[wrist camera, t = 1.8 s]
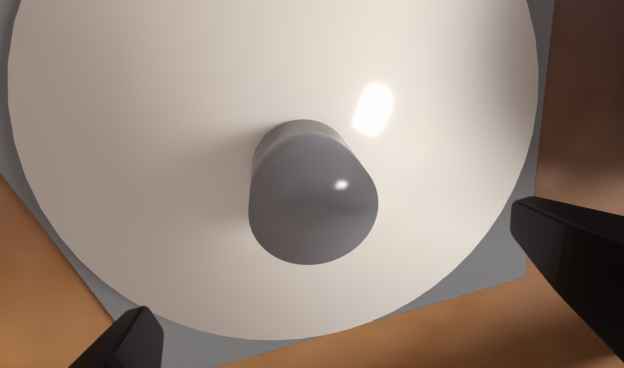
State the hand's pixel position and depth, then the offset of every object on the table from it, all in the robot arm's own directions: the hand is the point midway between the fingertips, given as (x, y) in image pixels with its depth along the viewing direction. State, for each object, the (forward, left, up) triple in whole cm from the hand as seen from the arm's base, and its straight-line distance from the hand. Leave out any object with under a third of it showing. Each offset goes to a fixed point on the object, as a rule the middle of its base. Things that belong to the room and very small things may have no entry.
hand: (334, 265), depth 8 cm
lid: (0, 0, -7) cm, 7 cm away
